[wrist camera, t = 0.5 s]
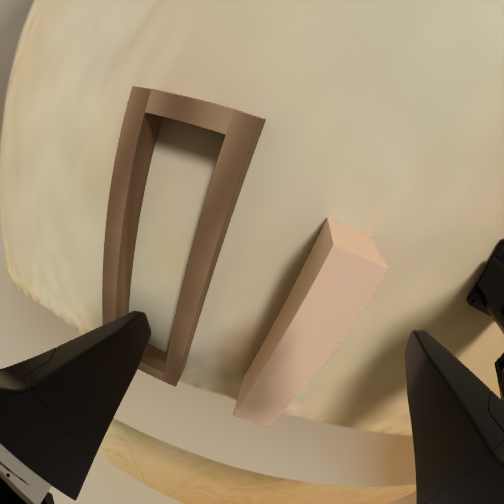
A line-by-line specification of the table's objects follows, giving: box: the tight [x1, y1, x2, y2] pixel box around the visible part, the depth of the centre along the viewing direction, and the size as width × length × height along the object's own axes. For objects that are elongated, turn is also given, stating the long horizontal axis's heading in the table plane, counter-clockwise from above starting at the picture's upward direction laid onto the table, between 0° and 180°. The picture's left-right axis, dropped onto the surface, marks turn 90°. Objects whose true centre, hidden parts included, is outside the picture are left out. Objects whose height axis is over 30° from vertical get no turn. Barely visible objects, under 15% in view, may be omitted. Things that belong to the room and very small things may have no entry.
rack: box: [102, 86, 265, 386], centre depth 21 cm, size 8×25×2 cm, turn 161°
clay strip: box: [233, 217, 389, 426], centre depth 20 cm, size 4×18×5 cm, turn 160°
